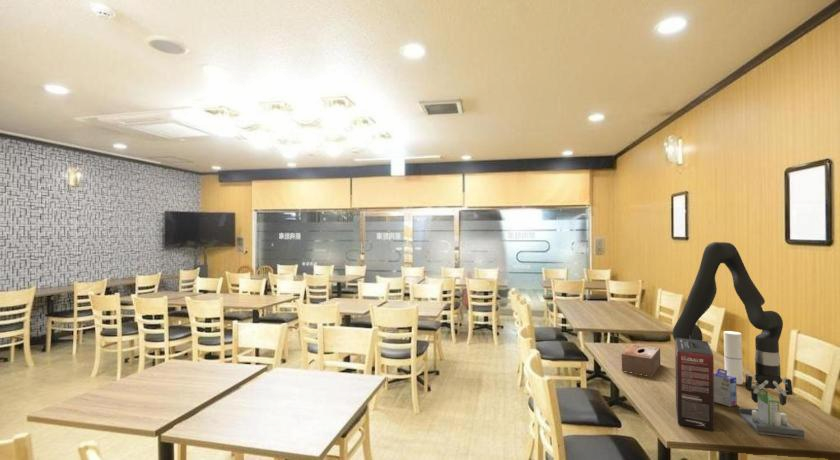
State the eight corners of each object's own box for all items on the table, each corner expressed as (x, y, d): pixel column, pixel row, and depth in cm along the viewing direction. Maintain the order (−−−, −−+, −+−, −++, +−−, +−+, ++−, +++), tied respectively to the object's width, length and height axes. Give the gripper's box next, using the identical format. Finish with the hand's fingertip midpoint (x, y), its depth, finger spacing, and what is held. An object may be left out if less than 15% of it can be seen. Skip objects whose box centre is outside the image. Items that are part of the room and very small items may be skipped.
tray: (757, 433, 153) (757, 411, 153) (739, 414, 169) (738, 394, 169) (804, 438, 148) (803, 416, 148) (780, 418, 164) (779, 398, 164)
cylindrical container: (727, 383, 204) (726, 333, 204) (723, 378, 210) (721, 330, 211) (745, 385, 201) (743, 334, 201) (739, 380, 207) (738, 331, 208)
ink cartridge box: (737, 405, 178) (736, 372, 178) (731, 407, 176) (730, 374, 176) (713, 397, 187) (712, 365, 187) (706, 399, 184) (705, 367, 185)
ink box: (780, 427, 155) (779, 392, 155) (768, 426, 156) (767, 391, 156) (769, 419, 161) (768, 385, 162) (757, 418, 162) (756, 384, 163)
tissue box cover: (651, 377, 215) (650, 358, 215) (621, 372, 224) (621, 353, 224) (660, 365, 234) (660, 347, 234) (633, 360, 244) (632, 343, 244)
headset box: (675, 402, 181) (673, 329, 182) (710, 408, 175) (707, 332, 175) (677, 425, 160) (675, 342, 161) (717, 432, 154) (714, 346, 154)
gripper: (749, 363, 158) (751, 405, 157) (795, 366, 153) (796, 409, 153) (741, 357, 165) (742, 397, 164) (784, 360, 160) (786, 401, 160)
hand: (768, 403), depth 159 cm, fingers open, 8 cm apart
